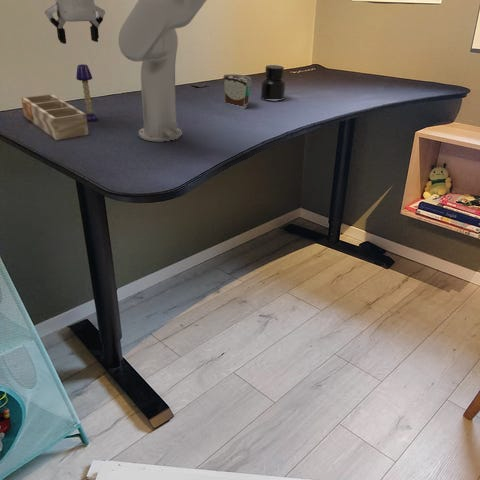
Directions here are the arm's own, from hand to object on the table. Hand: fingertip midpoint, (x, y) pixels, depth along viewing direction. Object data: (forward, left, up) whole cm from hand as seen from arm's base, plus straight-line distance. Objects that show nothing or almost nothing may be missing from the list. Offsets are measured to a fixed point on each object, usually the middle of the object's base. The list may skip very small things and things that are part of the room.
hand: (79, 42), depth 138 cm
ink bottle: (-10, -71, -23) cm, 75 cm away
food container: (-10, -54, -23) cm, 60 cm away
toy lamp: (0, 0, -23) cm, 23 cm away
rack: (0, +11, -23) cm, 25 cm away
